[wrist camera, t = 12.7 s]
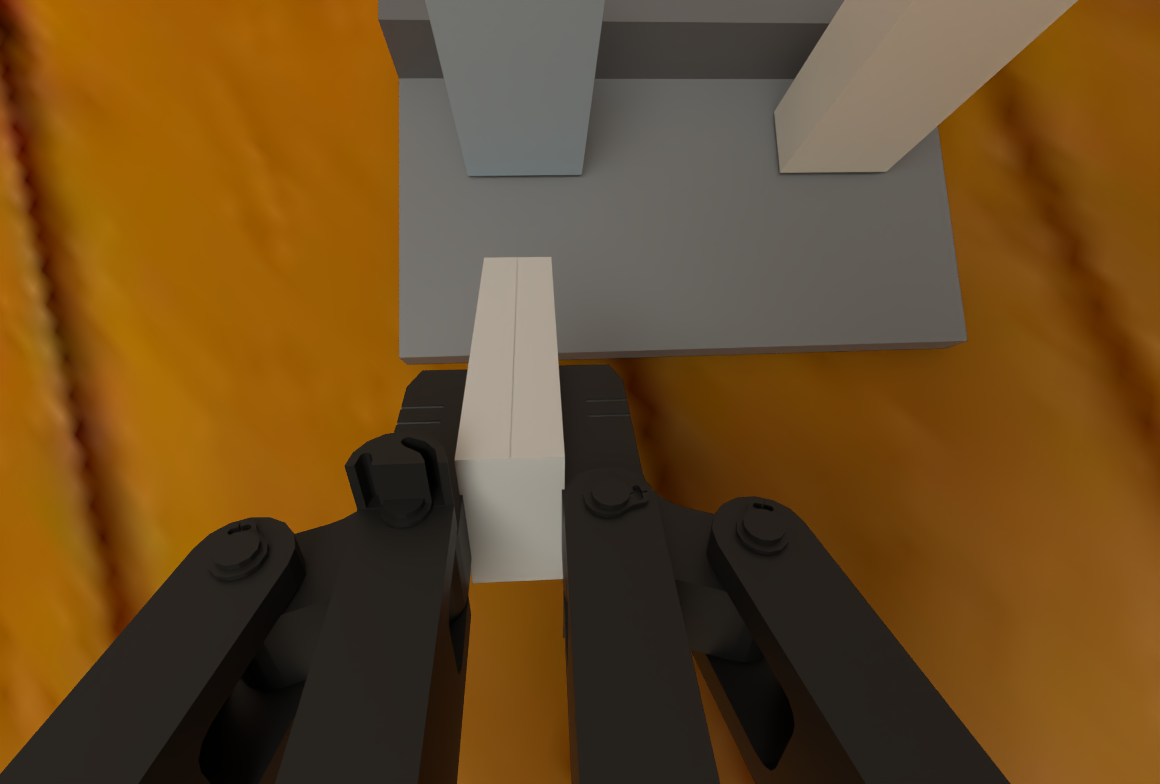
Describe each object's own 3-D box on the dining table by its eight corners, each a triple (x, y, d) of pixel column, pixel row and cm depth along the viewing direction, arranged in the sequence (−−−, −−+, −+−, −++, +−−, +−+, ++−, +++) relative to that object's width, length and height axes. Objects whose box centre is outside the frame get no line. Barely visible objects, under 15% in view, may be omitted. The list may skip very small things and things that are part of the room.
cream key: (878, 111, 28) (1092, -123, 17) (886, 171, 28) (1110, -29, 17) (774, 111, 28) (924, -127, 17) (779, 172, 27) (938, -32, 16)
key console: (904, 41, 31) (974, -43, 26) (945, 347, 28) (1030, 320, 24) (406, 38, 29) (378, -53, 24) (407, 364, 27) (376, 338, 22)
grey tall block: (578, 112, 27) (604, -135, 16) (581, 174, 27) (609, -36, 16) (466, 112, 27) (415, -140, 16) (467, 175, 26) (415, -39, 15)
